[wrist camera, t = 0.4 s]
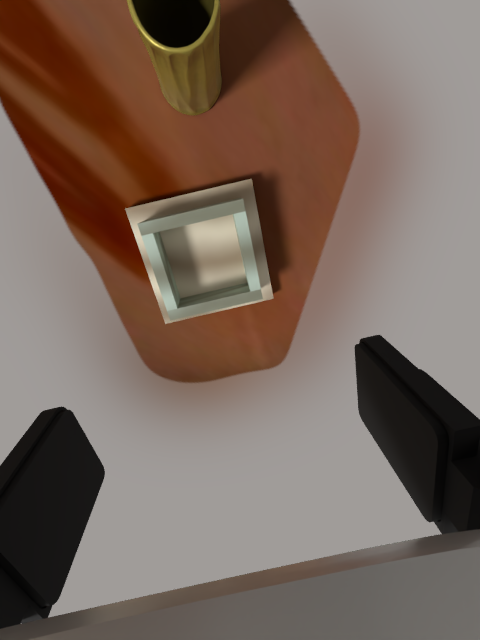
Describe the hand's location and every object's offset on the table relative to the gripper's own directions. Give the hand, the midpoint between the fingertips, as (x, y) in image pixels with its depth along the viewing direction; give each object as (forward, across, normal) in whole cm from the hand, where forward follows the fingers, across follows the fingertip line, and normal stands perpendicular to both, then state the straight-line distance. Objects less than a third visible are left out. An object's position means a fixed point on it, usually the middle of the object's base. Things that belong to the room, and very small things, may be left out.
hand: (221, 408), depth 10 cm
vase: (+30, -2, -16) cm, 34 cm away
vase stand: (+29, +1, +1) cm, 29 cm away
